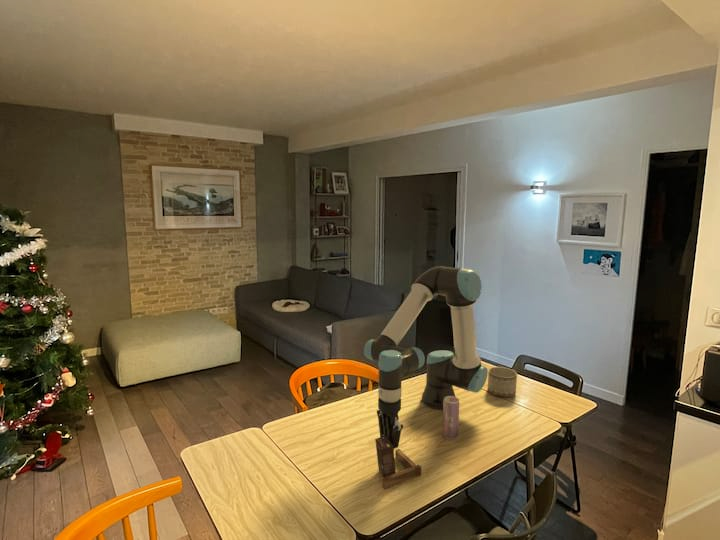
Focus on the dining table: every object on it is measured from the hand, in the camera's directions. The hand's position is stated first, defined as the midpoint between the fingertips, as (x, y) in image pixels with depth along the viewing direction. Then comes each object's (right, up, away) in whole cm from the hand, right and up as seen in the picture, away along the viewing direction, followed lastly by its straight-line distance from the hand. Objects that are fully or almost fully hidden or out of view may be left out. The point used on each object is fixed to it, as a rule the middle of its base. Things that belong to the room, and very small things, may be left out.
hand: (388, 463), depth 137 cm
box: (-1, -2, -4) cm, 5 cm away
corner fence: (+1, -2, -2) cm, 3 cm away
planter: (+57, +7, +55) cm, 80 cm away
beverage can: (+25, +1, +19) cm, 31 cm away
